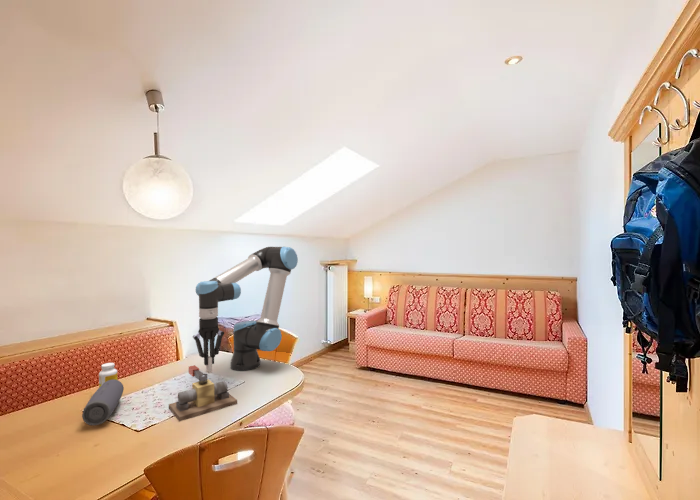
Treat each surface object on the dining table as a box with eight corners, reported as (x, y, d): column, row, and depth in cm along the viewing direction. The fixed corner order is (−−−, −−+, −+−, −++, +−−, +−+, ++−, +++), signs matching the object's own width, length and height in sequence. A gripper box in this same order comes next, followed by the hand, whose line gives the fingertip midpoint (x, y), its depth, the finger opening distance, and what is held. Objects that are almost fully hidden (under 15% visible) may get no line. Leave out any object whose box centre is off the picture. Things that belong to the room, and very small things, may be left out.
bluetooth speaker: (98, 404, 149) (98, 379, 149) (125, 400, 152) (124, 376, 152) (80, 431, 128) (79, 402, 127) (111, 426, 131) (110, 398, 131)
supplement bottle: (121, 391, 161) (120, 362, 161) (110, 397, 155) (109, 367, 154) (107, 390, 162) (106, 361, 162) (95, 396, 155) (94, 366, 155)
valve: (223, 392, 160) (223, 372, 159) (237, 403, 149) (237, 381, 149) (168, 407, 145) (168, 385, 145) (179, 421, 135) (179, 396, 134)
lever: (208, 382, 147) (208, 375, 147) (200, 384, 145) (200, 377, 145) (195, 372, 159) (195, 365, 158) (187, 373, 156) (187, 366, 156)
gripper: (195, 321, 151) (196, 378, 151) (227, 316, 159) (227, 370, 160) (190, 318, 156) (190, 373, 157) (220, 314, 165) (220, 366, 165)
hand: (209, 372), depth 158 cm, fingers closed
